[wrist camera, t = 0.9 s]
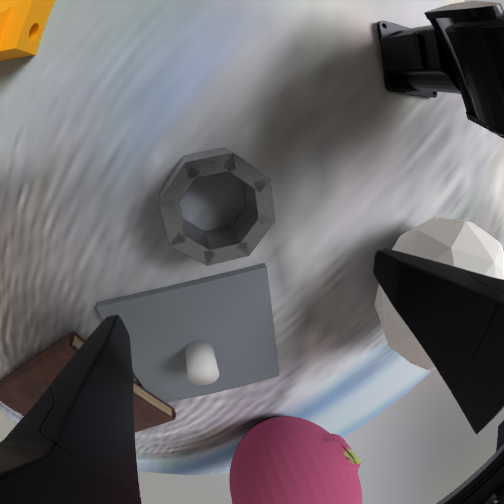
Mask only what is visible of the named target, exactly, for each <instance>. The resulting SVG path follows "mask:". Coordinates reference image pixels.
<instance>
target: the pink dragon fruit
mask: <svg viewBox="0 0 504 504" xmlns="http://www.w3.org/2000/svg"><path fill="white" fill-rule="evenodd" d="M361 463H362V462H361V461H360V460H359V458H358V457H357V456H356V455H355V453H354V452H353V451H352V450H351V448H350V447H349V445H348V444H347V443H346V442H345V440H344V439H343V438H342V437H340V436H339V435H335V434H330V433H329V432H327V431H326V430H325V429H323V428H322V427H320V426H318V425H317V424H314V423H312V422H310V421H308V420H305V419H302V418H297V417H291V416H281V417H274V418H270V419H267V420H265V421H262V422H260V423H259V424H257V425H256V426H254V427H253V428H252V429H251V430H249V431H248V432H247V433H246V435H245V436H244V437H243V438H242V440H241V441H240V443H239V445H238V446H237V448H236V451H235V453H234V456H233V459H232V463H231V468H230V492H231V497H232V504H362V491H361V485H360V480H359V476H358V468H359V466H360V464H361Z"/></svg>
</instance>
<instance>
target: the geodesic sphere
mask: <svg viewBox="0 0 504 504" xmlns="http://www.w3.org/2000/svg"><path fill="white" fill-rule="evenodd" d="M392 250H395V251H399V252H403V253H407V254H411V255H414V256H418V257H422V258H426V259H429V260H433V261H437V262H440V263H444V264H448V265H451V266H455V267H458V268H462V269H465V270H467V271H468V270H469V271H472V272H476V273H479V274H483V275H487V276H490V277H494V278H498V279H503V280H504V251H503V248H502V245H501V243H500V242H498V241H497V240H496V239H494V238H493V237H492V236H490V235H489V234H488V233H486V232H485V231H483V230H482V229H481V228H479V227H478V226H476V225H475V224H474V223H472V222H467V221H460V220H453V219H445V218H437V217H435V218H433V219H431V220H429V221H427V222H425V223H423V224H421V225H419V226H417V227H415V228H413V229H411V230H410V231H408V232H406V233H404V234H402V235H400V237H399V238H398V240H397V242H396V243H395V245H394V247H393V248H392ZM374 305H375V308H376V311H377V313H378V316H379V319H380V322H381V324H382V327H383V330H384V333H385V336H386V339H387V342H388V345H389V346H390V347H391V348H392V349H394V350H395V351H396V352H397V353H399V354H400V355H401V356H403V357H404V358H405V359H406V360H408V361H409V362H410V363H412V364H414V365H417V366H419V367H422V368H424V369H427V370H436V367H435V366H434V364H433V362H432V361H431V359H430V358H429V356H428V355H427V354H426V352H425V351H424V349H423V348H422V346H421V345H420V343H419V342H418V340H417V339H416V338H415V336H414V335H413V333H412V332H411V330H410V329H409V328H408V326H407V325H406V324H405V322H404V321H403V319H402V318H401V317H400V315H399V314H398V313H397V311H396V310H395V308H394V307H393V305H392V304H391V302H390V301H389V299H388V297H387V296H386V294H385V292H384V291H383V289H382V287H381V286H380V284H379V285H378V290H377V295H376V300H375V304H374Z"/></svg>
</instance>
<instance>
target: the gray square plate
mask: <svg viewBox="0 0 504 504" xmlns="http://www.w3.org/2000/svg"><path fill="white" fill-rule="evenodd" d="M96 309H97V311H98V313H99V315H100V317H101V319H102V320H104V319H105V318H106V317H107V316H111V315H116V314H117V315H119V316H120V317H121V319H122V321H123V323H124V325H125V327H126V329H127V331H128V333H129V336H130V343H131V356H132V368H133V373H134V374H135V376H136V377H137V379H138V380H139V382H140V383H141V385H142V386H143V388H144V389H146V390H147V391H149V392H150V393H152V394H153V395H154V396H156V397H157V398H159V399H160V400H162V401H163V402H170V401H176V400H181V399H187V398H192V397H197V396H202V395H206V394H211V393H215V392H220V391H224V390H228V389H232V388H236V387H240V386H244V385H248V384H251V383H255V382H259V381H262V380H266V379H269V378H272V377H276V376H279V372H278V362H277V353H276V344H275V335H274V326H273V317H272V309H271V300H270V291H269V283H268V274H267V267H266V265H265V264H260V265H256V266H252V267H248V268H244V269H239V270H235V271H231V272H227V273H223V274H219V275H215V276H211V277H207V278H202V279H198V280H194V281H190V282H186V283H181V284H177V285H173V286H169V287H164V288H160V289H156V290H151V291H147V292H143V293H139V294H134V295H130V296H125V297H121V298H117V299H112V300H108V301H103V302H99V303H97V305H96Z"/></svg>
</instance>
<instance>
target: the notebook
mask: <svg viewBox="0 0 504 504" xmlns="http://www.w3.org/2000/svg"><path fill="white" fill-rule="evenodd" d="M84 342H85V341H84V340H83V339H82V338H81V337H80V336H79V335H78V334H77V333H76V332H72V333H71V334H69V335H67V336H66V337H64V338H63V339H61V340H60V341H58V342H57V343H55V344H54V345H52V346H51V347H49V348H48V349H46V350H45V351H43V352H42V353H40V354H39V355H37V356H36V357H34V358H33V359H31V360H30V361H28V362H27V363H25V364H24V365H22V366H21V367H19V368H18V369H16V370H15V371H14V372H12V373H11V374H9V375H8V376H6V377H5V378H3V379H2V380H0V401H2V402H3V403H4V404H5V405H7V406H8V407H10V408H11V409H13V410H14V411H16V412H18V413H20V414H22V415H23V416H25V415H26V413H27V412H28V411H29V410H30V409H31V408H32V406H33V405H34V404H35V403H36V402H37V400H38V399H39V398H40V397H41V395H42V394H43V393H44V391H45V390H46V389H47V388H48V386H50V384H51V383H52V381H53V380H54V379H55V377H56V376H57V375H58V374H59V372H60V371H61V370H62V369H63V367H64V366H65V365H66V364H67V363H68V361H69V360H70V359H71V358H72V357H73V355H74V354H75V353H76V352H77V351H78V349H79V348H80V347H81V346H82V345H83V343H84ZM175 418H176V413H175V410H174V408H173V407H171V406H170V405H168V404H166V403H165V402H163V401H162V400H160V399H159V398H157V397H156V396H154V395H153V394H152V393H150V392H149V391H147V390H146V389H144V388H143V387H142V386H140V385H139V384H137V383H136V382H135V381H134V432H137V431H141V430H144V429H147V428H150V427H154V426H157V425H160V424H163V423H166V422H169V421H172V420H175Z"/></svg>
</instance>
